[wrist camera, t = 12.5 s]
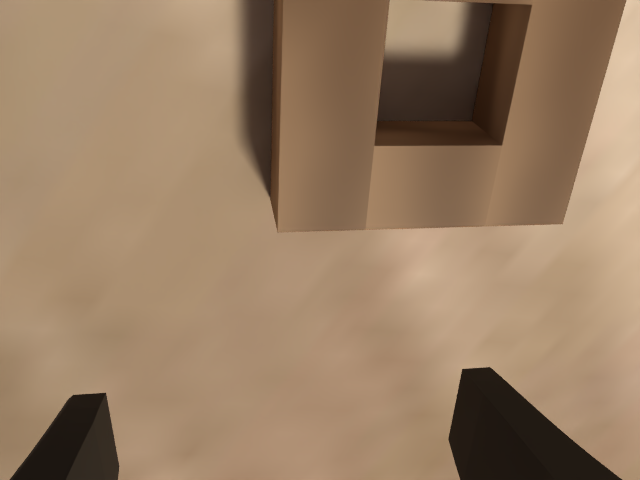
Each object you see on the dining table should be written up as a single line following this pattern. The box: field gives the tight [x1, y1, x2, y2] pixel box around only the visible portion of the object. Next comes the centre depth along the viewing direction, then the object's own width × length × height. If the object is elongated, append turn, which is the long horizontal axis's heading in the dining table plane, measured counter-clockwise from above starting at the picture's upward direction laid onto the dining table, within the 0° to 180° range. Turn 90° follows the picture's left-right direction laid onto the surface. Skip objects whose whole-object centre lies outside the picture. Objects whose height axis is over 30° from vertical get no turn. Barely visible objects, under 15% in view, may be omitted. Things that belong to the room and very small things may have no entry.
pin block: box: [270, 0, 626, 232], centre depth 19 cm, size 10×10×2 cm
